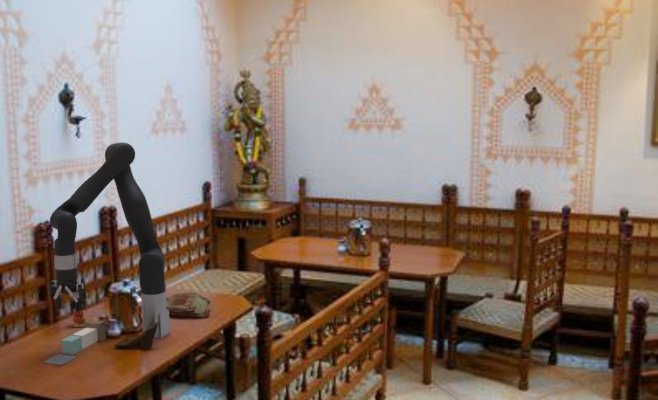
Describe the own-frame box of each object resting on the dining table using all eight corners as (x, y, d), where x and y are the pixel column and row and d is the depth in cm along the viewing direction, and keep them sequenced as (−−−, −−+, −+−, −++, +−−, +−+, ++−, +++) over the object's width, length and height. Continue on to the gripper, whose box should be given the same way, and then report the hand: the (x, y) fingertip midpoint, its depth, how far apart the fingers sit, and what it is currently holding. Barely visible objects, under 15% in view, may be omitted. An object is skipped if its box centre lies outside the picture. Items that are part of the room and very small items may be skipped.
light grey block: (105, 339, 273) (104, 321, 272) (85, 349, 261) (84, 331, 260) (89, 336, 275) (88, 319, 274) (69, 347, 264) (67, 329, 263)
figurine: (84, 328, 285) (82, 299, 283) (70, 328, 285) (68, 299, 283) (89, 323, 291) (87, 294, 289) (76, 323, 291) (74, 294, 290)
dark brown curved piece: (148, 322, 257) (115, 318, 264) (145, 351, 256) (111, 346, 262) (162, 322, 265) (129, 318, 271) (159, 350, 263) (126, 346, 269)
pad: (77, 357, 254) (77, 356, 254) (61, 365, 247) (61, 364, 247) (58, 354, 257) (58, 354, 257) (43, 362, 249) (42, 362, 249)
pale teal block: (81, 350, 262) (80, 337, 261) (72, 355, 257) (71, 341, 256) (71, 348, 263) (70, 335, 262) (62, 353, 258) (61, 340, 258)
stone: (216, 300, 312) (214, 289, 310) (207, 318, 295) (205, 306, 293) (163, 302, 313) (161, 291, 312) (151, 320, 297) (149, 308, 295)
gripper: (89, 265, 257) (91, 309, 259) (57, 262, 261) (59, 305, 264) (75, 270, 250) (77, 315, 252) (42, 267, 255) (45, 311, 257)
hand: (68, 310), depth 258 cm, fingers open, 8 cm apart
